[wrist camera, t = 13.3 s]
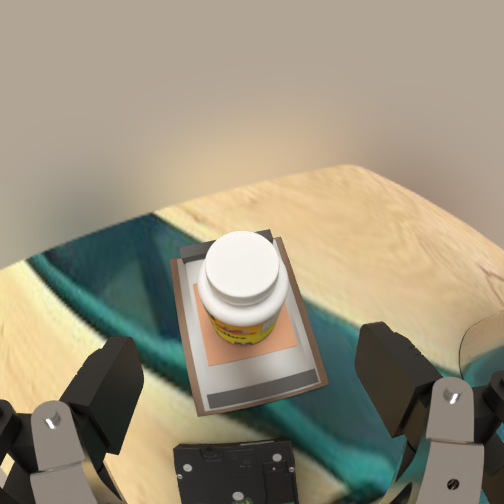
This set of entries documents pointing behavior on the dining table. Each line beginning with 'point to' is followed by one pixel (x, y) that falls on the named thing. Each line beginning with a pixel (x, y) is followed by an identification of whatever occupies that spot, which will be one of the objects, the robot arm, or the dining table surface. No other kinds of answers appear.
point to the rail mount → (244, 357)
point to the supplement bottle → (243, 287)
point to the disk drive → (237, 473)
